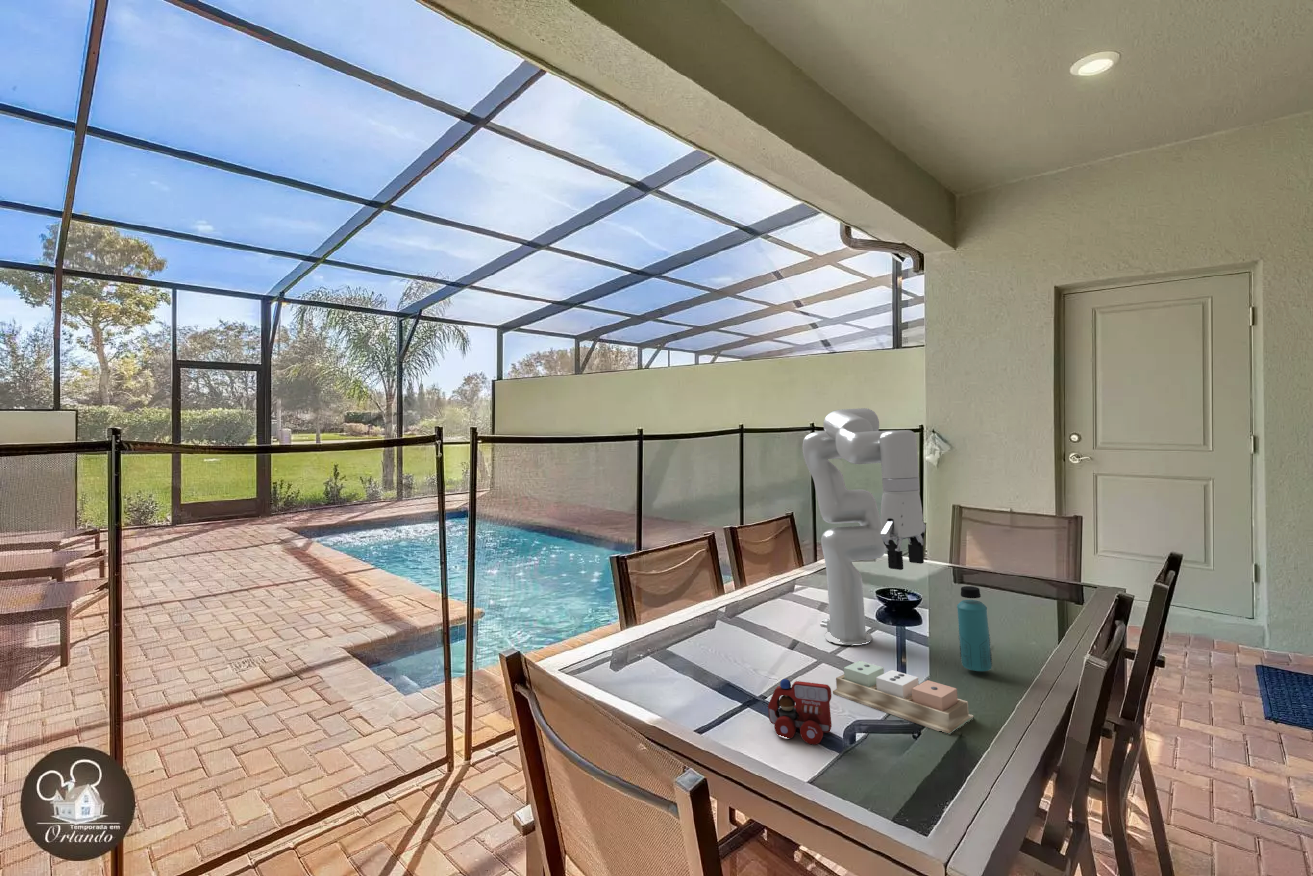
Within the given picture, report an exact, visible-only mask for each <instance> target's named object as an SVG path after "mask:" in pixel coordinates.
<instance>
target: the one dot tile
mask: <svg viewBox="0 0 1313 876" xmlns="http://www.w3.org/2000/svg"><path fill="white" fill-rule="evenodd" d="M912 698H913V702H915V703H918V704H921V705H924V706H927V707H930V708H933V709H936V710H939V711H942V712H944V711H946V710H947V709H949V708H951V707H952V706H954V705H956V704H957V703H958V699H959V698H958V688H956V687H953V686H949V685H945V684H942V683H939V682H935V681H932V680H928V679H927V680H925V681H923V682H922V683H920V684H919V685H918V686H916V687H914V688H912Z"/></svg>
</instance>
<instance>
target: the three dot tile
mask: <svg viewBox="0 0 1313 876" xmlns="http://www.w3.org/2000/svg"><path fill="white" fill-rule="evenodd" d="M919 683H920V682H919V676H915V675H911V674H908V673H904V672H901V671H897V670H894V669H891V670H889V671H886V672H884V674H882V675H880V676H878V677H876V685H877V690H878V691H881V692H884V693H887V694H890V695H893V696H896V697H899V698H902V699H905V698H907V697H909V696H911V695H912V688H914V687H916V686H918V685H919Z"/></svg>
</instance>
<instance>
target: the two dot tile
mask: <svg viewBox="0 0 1313 876" xmlns="http://www.w3.org/2000/svg"><path fill="white" fill-rule="evenodd" d="M884 673H885V669H884V667H883V666H879V665H877V664H873V663H869V662H866V661H864V660H863V661H862V660H857V661H856V662H853V663H852V664H849V665H846V666H845V667H843V675H844V679H845V680H847V681H850V682H853V683H856V684H860V685H863V686H866V687H871V686H873V685H875V684H876V677H878V676H880V675H882V674H884Z"/></svg>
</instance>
